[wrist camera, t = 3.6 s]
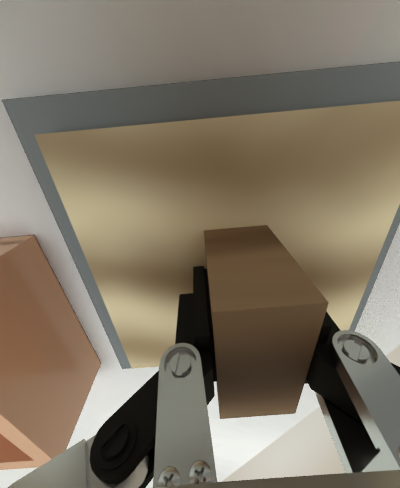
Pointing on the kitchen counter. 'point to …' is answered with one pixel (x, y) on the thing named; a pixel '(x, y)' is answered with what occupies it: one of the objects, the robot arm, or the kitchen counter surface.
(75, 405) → the open wooden tray
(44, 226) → the kitchen counter surface
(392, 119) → the lid
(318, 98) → the mat
